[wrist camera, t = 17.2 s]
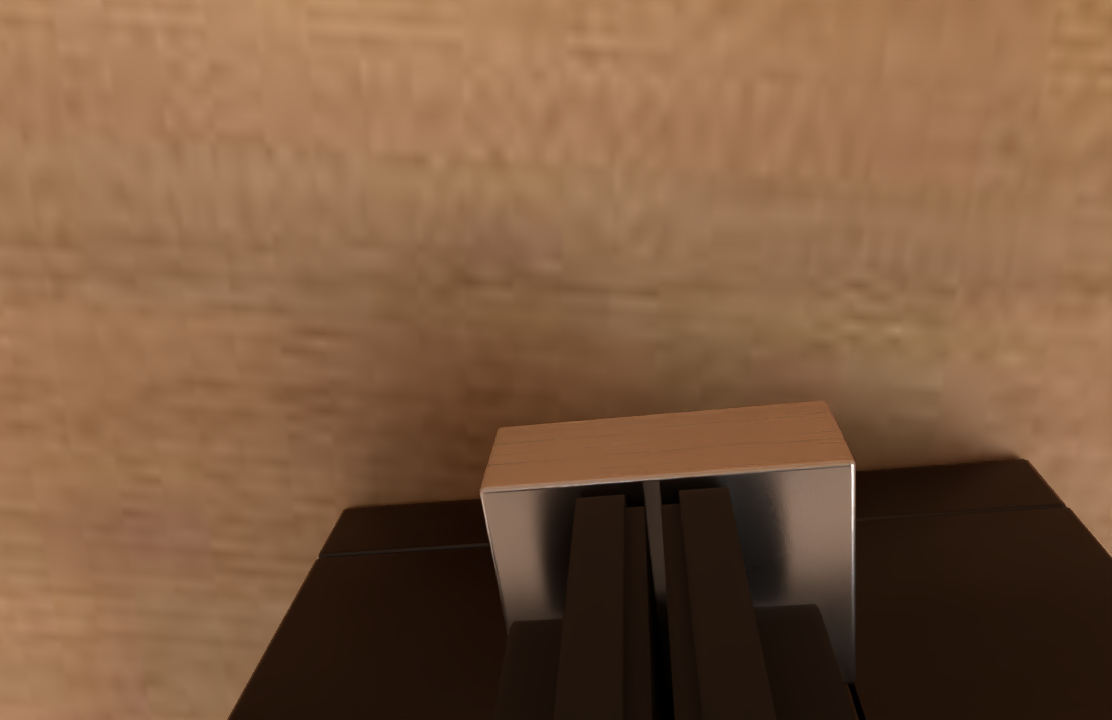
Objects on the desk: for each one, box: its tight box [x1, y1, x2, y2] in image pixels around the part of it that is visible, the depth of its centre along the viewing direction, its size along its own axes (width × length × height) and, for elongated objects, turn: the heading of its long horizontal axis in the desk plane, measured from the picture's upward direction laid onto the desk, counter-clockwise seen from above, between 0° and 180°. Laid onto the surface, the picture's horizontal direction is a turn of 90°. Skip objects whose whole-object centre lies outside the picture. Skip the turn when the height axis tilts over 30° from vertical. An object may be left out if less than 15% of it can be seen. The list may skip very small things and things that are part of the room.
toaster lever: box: [479, 401, 856, 692], centre depth 10 cm, size 4×3×2 cm
